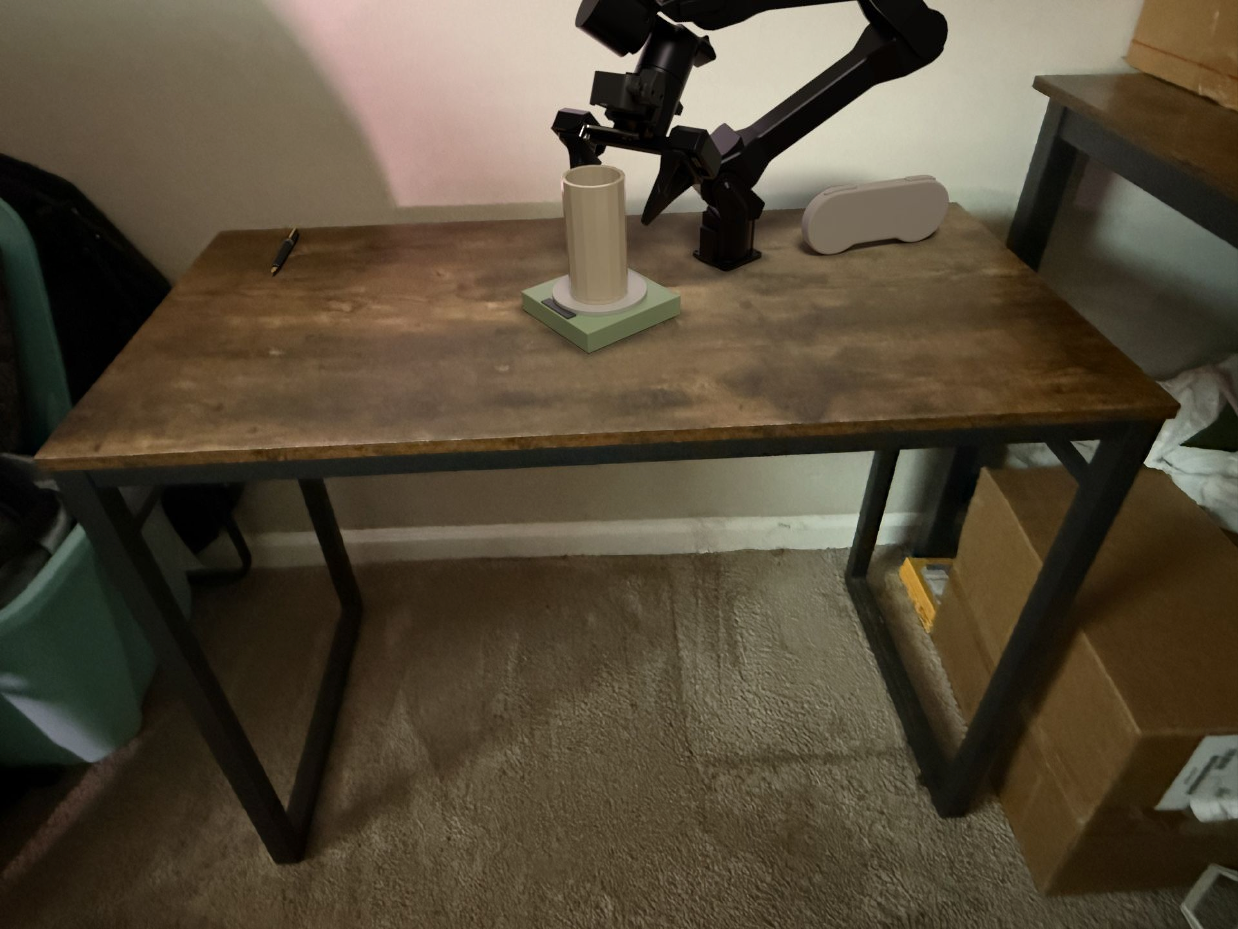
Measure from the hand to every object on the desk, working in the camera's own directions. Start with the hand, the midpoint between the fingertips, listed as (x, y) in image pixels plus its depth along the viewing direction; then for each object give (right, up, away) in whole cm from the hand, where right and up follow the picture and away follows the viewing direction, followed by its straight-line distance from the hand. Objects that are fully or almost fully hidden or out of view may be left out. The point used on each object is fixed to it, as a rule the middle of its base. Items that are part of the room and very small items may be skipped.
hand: (607, 216), depth 87 cm
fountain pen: (-43, +1, +22) cm, 49 cm away
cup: (-1, -7, +4) cm, 8 cm away
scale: (-1, -9, +6) cm, 11 cm away
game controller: (+34, +1, +18) cm, 38 cm away
